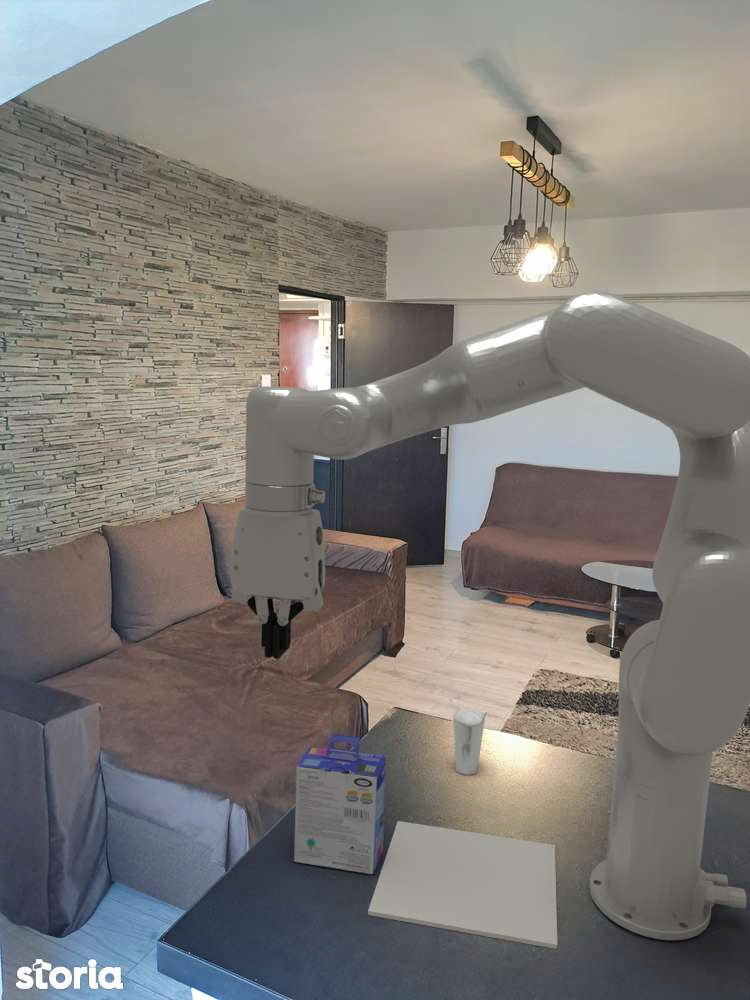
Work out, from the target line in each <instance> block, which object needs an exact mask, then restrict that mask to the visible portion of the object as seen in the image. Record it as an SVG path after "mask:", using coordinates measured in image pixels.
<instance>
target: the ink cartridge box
mask: <svg viewBox="0 0 750 1000" xmlns="http://www.w3.org/2000/svg"><path fill="white" fill-rule="evenodd" d="M360 740H361V738H360V737H359V736H352V735H343V734H338V733H330V739H329V743H328V747H327V748H321V747H320V748H319V747H312V746H309V747H308V749H307V750H306V751H305V753H304V754H303V756H302V758H301V759H300V760H299V762H298V763H297V765H296V766H295V797H294V798H295V802H294V804H295V807H294V808H295V809H294V811H295V812H294V847H293V849H294V850H293V851H294V852H293V855H294V856H293V862H295V863H300V864H305V865H311V866H318V867H319V866H320V867H324V868H331V869H332V868H333V869H337V870H344V871H349V872H356V873H361V874H367V875H373V874H374V873H375V871H376V869H377V866H378V863H379V861H380V859H381V857H382V854H383V851H384V830H385V829H384V825H385V824H384V822H385V801H386V800H385V798H386V797H385V793H386V770H387V769H386V768H387V767H386V765H387V764H386V755H384V754H374V753H366V752H365V753H364V752H360V751H359V750H360ZM340 742H345V743H348V744H350V745H351V746H352V745H353V749H347V748H339V747H335V746H334V745H335V743H340Z"/></svg>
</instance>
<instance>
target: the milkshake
mask: <svg viewBox="0 0 750 1000" xmlns="http://www.w3.org/2000/svg"><path fill="white" fill-rule="evenodd" d="M487 714H488V711H486V712H484V714H483V713H482V712H481V711H480V710H478V709H475V708H472V707H462V708H459V709H458V710H456V712H455V713H454V714H453V717H452V720H453V735H454V737H453V739H454V740H453V741H454V742H453V743H454V744H453V745H454V768H455V770H456V772H457V773H458V774H461V775H464V776H465V775H466V776H471V775H474V774H476V773H477V772H478V770H479V764H480V757H481V756H480V755H481V751H482V750H481V748H482V740H483V735H484V728H485V722H486V716H487Z"/></svg>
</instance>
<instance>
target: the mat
mask: <svg viewBox="0 0 750 1000" xmlns="http://www.w3.org/2000/svg"><path fill="white" fill-rule="evenodd" d="M556 876H557V875H556V844H550V843H543V842H538V841H537V842H536V841H530V840H524V839H519V838H518V839H517V838H512V837H506V836H497V835H492V834H491V835H490V834H486V833H478V832H471V831H465V830H458V829H452V828H447V827H440V826H439V827H438V826H434V825H433V826H432V825H426V824H420V823H414V822H406V821H401V820H397V822H396V825H395V828H394V831H393V835H392V837H391V841H390V844H389V847H388V849H387V853H386V856H385V859H384V861H383V864H382V868H381V871H380V874H379V877H378V880H377V883H376V886H375V889H374V892H373V895H372V898H371V901H370V903H369V906H368V911H367V916H370V917H371V916H372V917H375V918H376V917H378V918H383V919H387V920H393V921H398V922H399V921H400V922H405V923H411V924H416V925H422V926H427V927H433V928H437V929H443V930H447V931H455V932H460V933H465V934H470V935H476V936H482V937H487V938H492V939H493V938H494V939H497V940H505V941H509V942H510V941H511V942H515V943H519V944H525V945H532V946H536V947H537V946H538V947H542V948H548V949H553V950H558V921H557V920H558V919H557V914H558V913H557V912H558V911H557V881H556V880H557V879H556Z"/></svg>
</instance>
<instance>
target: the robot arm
mask: <svg viewBox="0 0 750 1000" xmlns="http://www.w3.org/2000/svg"><path fill="white" fill-rule="evenodd" d="M583 388H586V389H588V390H590V391H593V392H595V393H597V394H599V395H601V396H603V397H605V398H608V399H609V400H611V401H614V402H616V403H618V404H620V405H622V406H624V407H626V408H628V409H631V410H633V411H636V412H638V413H640V414H643V415H645V416H647V417H649V418H652V419H654V420H656V421H658V422H660V423H661V424H663V425H665V426H666V427H668V428H669V429H671V431H672V433H673V435H674V436H675V439H676V441H677V445H678V449H679V459H680V460H679V469H678V474H677V478H676V479H677V480H676V484H675V489H674V494H673V498H672V503H671V505H670V509H669V513H668V517H667V520H666V523H665V526H664V530H663V533H662V537H661V539H660V542H659V545H658V549H657V551H656V554H655V557H654V561H653V567H652V573H651V575H652V583H653V586H654V588H655V591H656V593H657V596H658V597H659V599H660V601H661V602H662V607H661V608H662V609H661V613H660V617H659V619H656V620H651V621H649V622H646V623H645V624H643V625H641V626H640V627H638V628H637V629H636V630H635V631H634V632H632V634H631V635H630V636H629V637H628V638H627V640H626V642H625V644H624V646H623V649H622V651H621V655H620V661H619V667H618V668H619V672H618V674H619V675H618V717H617V719H618V720H617V735H616V736H617V738H616V747H615V748H616V749H615V759H614V769H613V780H612V791H611V792H612V793H611V803H610V814H609V815H610V816H609V825H608V838H607V848H606V849H607V850H606V859H605V860H602V861H601V862H600V863H598V864H596V866H595V867H594V868H593V869H592V871H591V873H590V877H589V892H590V896H591V899H592V901H593V902H594V903H595V905H596V906H597V907H598V909H599V910H600V911H601V913H603V914H604V915H605V916H606V917H608V918H609V920H611V921H613V922H614V923H615V924H616V925H618V926H620V927H622V928H623V929H626V930H628V931H630V932H632V933H634V934H638V935H641V936H643V937H646V938H650V939H655V940H663V941H683V940H688V939H691V938H694V937H696V936H698V935H701V934H702V933H703V932H704V931H706V929H707V928H708V926H709V924H710V921H711V918H712V917H711V915H712V914H711V913H712V907H713V908H714V906H715V904H718V905H722V906H726V907H732V908H737V909H744V910H745V909H746V908H747V903H748V902H747V894H746V893H747V892H746V890H745V888H740V887H734V886H729V879H728V876H727V875H726V874H721V873H712V872H711V873H710V872H705V870H704V869H702V868H701V862H702V861H701V860H702V851H703V843H704V842H703V841H704V833H705V832H704V831H705V824H706V816H707V814H706V813H707V805H708V798H709V797H708V796H709V789H710V788H709V787H710V786H709V785H710V782H711V781H710V780H711V771H712V764H713V763H712V762H713V761H712V760H713V753H714V752H716V751H718V750H720V749H721V748H723V747H725V746H726V745H727V744H728V743H729V742H730V741H731V740H733V738H734V737H735V736H736V734H737V733H738V731H740V728H741V726H742V725H743V724H744V721H745V718H746V716H747V714H748V711H749V708H750V355H748V354H747V353H746V352H745V351H743V349H741V348H739V347H738V346H736V345H734V344H732V343H730V342H728V341H726V340H723V339H721V338H719V337H716V336H714V335H711V334H709V333H707V332H704V331H702V330H699V329H696V328H694V327H692V326H689V325H688V324H685V323H683V322H680V321H678V320H675V319H673V318H671V317H668V316H665V315H664V314H661V313H660V312H656V311H655V310H652V309H649V308H647V307H645V306H643V305H640V304H638V303H636V302H633V301H631V300H629V299H627V298H624V297H622V296H620V295H617V294H614V293H611V292H608V291H607V292H606V291H601V290H600V291H599V290H592V291H591V290H590V291H585V292H580V293H578V294H575V295H574V296H572V297H570V298H568V299H567V300H565V301H564V302H563V303H562V304H560V305H559V306H558V307H555V308H552V309H549V310H546V311H544V312H541V313H538V314H535V315H532V316H530V317H527V318H524V319H521V320H518V321H516V322H513V323H510V324H507V325H505V326H502V327H498V328H495V329H493V330H489V331H486V332H484V333H481V334H477V335H475V336H471V337H469V338H466V339H463V340H460V341H458V342H456V343H454V344H452V345H450V346H449V347H447V348H446V349H444V350H443V351H442V352H440V353H439V354H438V355H436V356H435V357H433V358H431V359H430V360H428V361H426V362H424V363H422V364H418V365H416V366H415V367H411V368H409V369H406V370H404V371H401V372H399V373H396V374H394V375H389V376H386V377H384V378H381V379H378V380H376V381H372V382H370V383H366V384H363V385H360V386H357V387H356V386H355V387H354V386H353V387H349V386H348V387H347V386H346V387H339V388H329V389H319V390H308V389H307V388H301V387H292V386H258V387H257V386H256V387H254V388H253V389H251V390H250V391H249V392H248V394H247V397H246V405H245V407H246V408H245V409H246V410H245V476H244V477H245V478H244V479H245V481H244V484H245V485H244V486H245V489H244V491H245V492H244V493H245V494H244V506H242V507H240V508H239V510H238V511H239V512H238V516H237V520H236V524H235V530H234V536H233V544H232V552H231V553H232V554H231V562H230V563H231V564H230V565H231V567H230V581H231V582H230V583H231V588H232V592H231V595H230V598H231V600H232V601H233V602H236V603H239V604H242V605H244V606H248V607H249V608H250V609H251V611H252V612H253V613H254V614H255V616H257V621H258V623H260V624H261V647H262V648H264V658H268V659H269V658H273V659H277V660H279V659H280V658H281V657H282V656H283V655H284V654H285V653H286V652H287V651H288V650H289V649H290V647H291V641H292V639H291V638H292V635H291V634H292V631H291V630H292V620H294V618H295V617H297V616H298V615H299V614H300V613H303V612H311V611H318V610H320V609H321V607H323V606H324V600H323V595H322V591H323V589H324V587H325V585H326V583H325V582H326V557H325V556H326V555H325V543H324V541H325V540H324V531H323V523H322V518H321V513H320V512H321V511H320V510H318V509H313V507H315V505H317V504H319V503H320V504H324V503H325V500H326V492H325V490H319V489H316V485H315V482H314V467H315V465H314V464H315V457H314V456H318V457H321V458H328V459H333V460H351V459H355V458H357V457H359V456H361V455H363V454H365V453H367V452H370V451H373V450H376V449H378V448H382V447H384V446H387V445H390V444H393V443H397V442H399V441H402V440H405V439H409V438H412V437H414V436H417V435H421V434H424V433H427V432H430V431H434V430H438V429H441V428H445V427H449V426H455V425H466V424H473V423H477V422H480V421H484V420H487V419H492V418H494V417H497V416H500V415H503V414H506V413H509V412H512V411H515V410H518V409H522V408H525V407H527V406H530V405H535V404H537V403H539V402H543V401H547V400H550V399H553V398H556V397H558V396H559V397H560V396H562V395H565V394H568V393H571V392H574V391H578V390H581V389H583ZM275 600H280V603H279V608H278V609H279V610H278V614H277V613H276V612H277V610H276V609H277V608H276V602H275Z"/></svg>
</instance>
